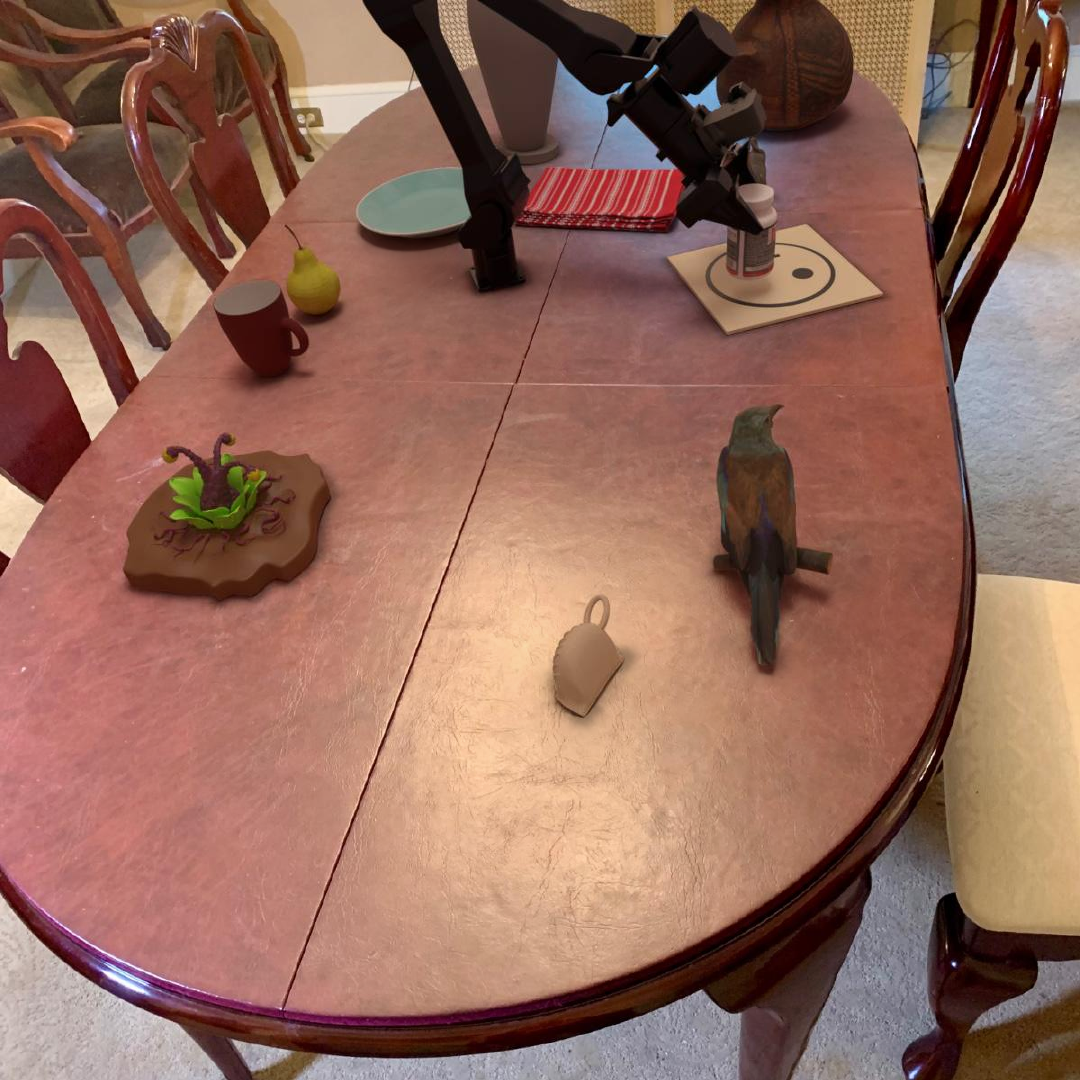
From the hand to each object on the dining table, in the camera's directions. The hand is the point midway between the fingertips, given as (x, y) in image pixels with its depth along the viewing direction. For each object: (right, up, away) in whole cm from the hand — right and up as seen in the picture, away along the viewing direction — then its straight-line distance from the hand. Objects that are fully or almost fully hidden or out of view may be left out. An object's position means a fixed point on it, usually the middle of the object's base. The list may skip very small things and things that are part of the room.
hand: (763, 220), depth 110 cm
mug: (-58, -17, +6) cm, 61 cm away
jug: (+13, +32, +44) cm, 56 cm away
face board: (+3, -4, +9) cm, 10 cm away
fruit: (-56, -7, +15) cm, 58 cm away
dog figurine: (+3, +10, +24) cm, 26 cm away
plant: (-58, -37, -14) cm, 70 cm away
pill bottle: (-1, -5, +5) cm, 7 cm away
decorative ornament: (-22, -49, -33) cm, 63 cm away
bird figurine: (-6, -41, -27) cm, 49 cm away
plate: (-43, +12, +32) cm, 55 cm away
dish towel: (-16, +12, +29) cm, 35 cm away
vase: (-28, +26, +45) cm, 60 cm away
